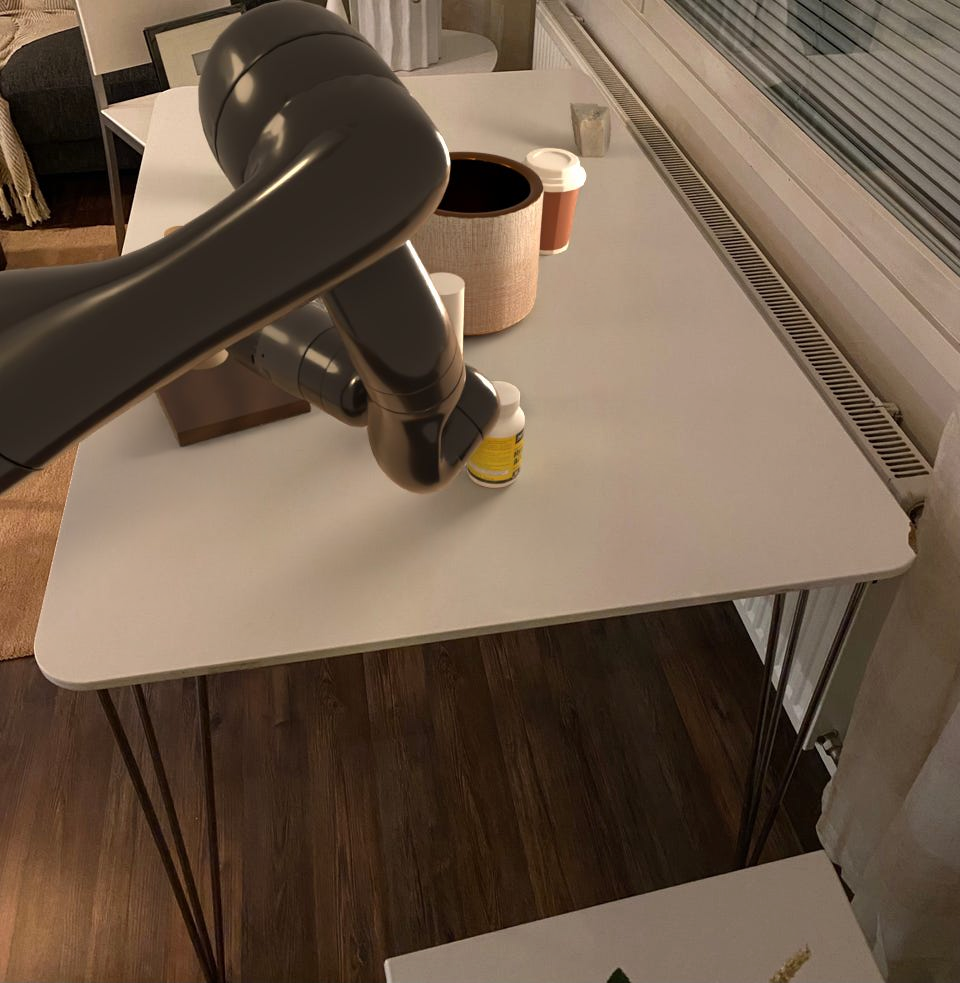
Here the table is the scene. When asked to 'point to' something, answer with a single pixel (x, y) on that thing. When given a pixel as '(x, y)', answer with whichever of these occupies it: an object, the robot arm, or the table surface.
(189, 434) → the board
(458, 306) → the tube
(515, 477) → the supplement bottle
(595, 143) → the mineral specimen
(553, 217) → the coffee cup
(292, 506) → the table surface
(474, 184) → the planter
